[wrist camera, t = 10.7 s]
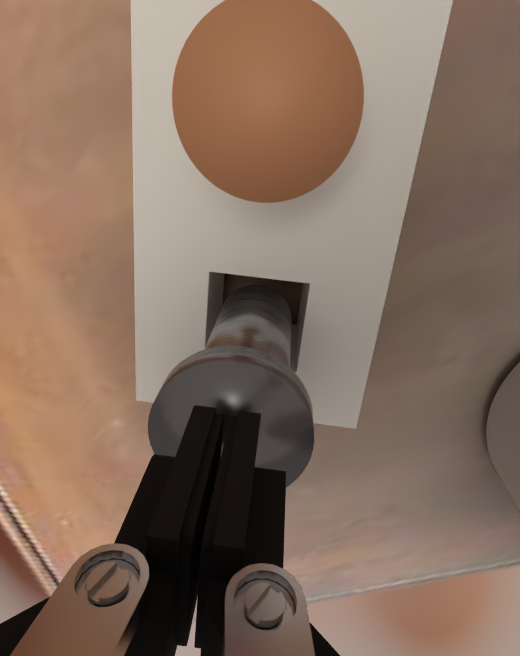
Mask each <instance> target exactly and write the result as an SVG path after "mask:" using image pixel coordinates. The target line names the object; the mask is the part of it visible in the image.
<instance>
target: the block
mask: <svg viewBox="0 0 520 656" xmlns="http://www.w3.org/2000/svg"><path fill="white" fill-rule="evenodd" d="M223 1H225V0H131V55H132V131H133V207H134V283H135V359H136V401H144V402H151V403H154V401H155V399H156V397H157V395H158V393H159V391H160V389H161V387H162V385H163V383H164V381H165V380H166V378H167V376H168V375H169V373H170V372H171V371H172V370H173V369H174V368H175V366H177V365H178V364H179V363H180V362H181V361H183V360H184V359H186V358H187V357H189V356H190V355H193V354H195V353H197V352H199V351H202V350H205V347H206V345H207V342H208V340H209V337H210V335H211V333H212V330H213V328H214V325H215V323H216V320H217V318H218V315H219V313H220V311H221V308H222V305H223V291H224V277H225V274H234V275H242V276H251V277H259V278H267V279H276V280H284V281H292V282H301V283H303V288H302V295H301V302H300V309H299V316H298V322H297V325H293V324H291V346H290V369H291V370H292V371H293V372H294V373H295V374H296V375H297V376H298V377H299V379H300V380H301V381H302V383H303V384H304V386H305V388H306V390H307V392H308V394H309V397H310V399H311V404H312V409H313V423H315V424H323V425H331V426H338V427H346V428H354V429H356V426H357V422H358V418H359V413H360V409H361V404H362V400H363V396H364V391H365V387H366V382H367V378H368V374H369V369H370V365H371V360H372V356H373V351H374V347H375V343H376V338H377V334H378V329H379V325H380V321H381V316H382V312H383V307H384V303H385V299H386V294H387V290H388V285H389V281H390V276H391V272H392V268H393V263H394V259H395V254H396V250H397V246H398V241H399V237H400V232H401V228H402V224H403V219H404V215H405V210H406V206H407V201H408V197H409V193H410V188H411V184H412V179H413V175H414V171H415V166H416V162H417V157H418V153H419V149H420V144H421V140H422V135H423V131H424V127H425V122H426V118H427V113H428V109H429V104H430V100H431V96H432V91H433V87H434V82H435V78H436V74H437V69H438V65H439V60H440V56H441V52H442V47H443V43H444V38H445V34H446V29H447V25H448V21H449V16H450V12H451V7H452V3H453V0H312V1H314V2H316V3H317V4H319V5H320V6H321V7H323V8H324V9H325V10H327V11H328V12H329V13H330V14H331V15H332V16H333V17H334V18H335V19H336V20H337V21H338V22H339V24H340V25H341V26H342V28H343V29H344V30H345V32H346V33H347V35H348V37H349V39H350V41H351V42H352V44H353V46H354V49H355V51H356V54H357V56H358V59H359V63H360V67H361V71H362V77H363V85H364V105H363V113H362V119H361V123H360V127H359V130H358V133H357V136H356V139H355V141H354V143H353V145H352V147H351V149H350V151H349V153H348V155H347V156H346V158H345V159H344V161H343V162H342V164H341V165H340V166H339V168H338V169H337V170H336V171H335V172H334V173H333V174H332V175H331V176H330V177H329V178H328V179H327V180H326V181H325V182H324V183H322V184H321V185H319V186H318V187H317V188H315V189H314V190H312V191H310V192H308V193H306V194H304V195H302V196H299V197H297V198H294V199H291V200H287V201H282V202H274V203H260V202H253V201H247V200H243V199H240V198H237V197H234V196H232V195H230V194H228V193H226V192H224V191H222V190H221V189H219V188H218V187H216V186H215V185H213V184H212V183H211V182H210V181H209V180H208V179H206V178H205V177H204V176H203V175H202V174H201V173H200V171H199V170H198V169H197V168H196V167H195V165H194V164H193V163H192V161H191V160H190V158H189V157H188V155H187V153H186V151H185V149H184V148H183V146H182V143H181V141H180V138H179V136H178V133H177V129H176V125H175V122H174V115H173V109H172V86H173V78H174V73H175V68H176V64H177V61H178V58H179V55H180V52H181V50H182V48H183V46H184V44H185V42H186V40H187V38H188V37H189V35H190V34H191V32H192V30H193V29H194V28H195V26H196V25H197V24H198V23H199V22H200V20H201V19H202V18H203V17H204V16H205V15H206V14H207V13H209V12H210V11H211V10H212V9H213V8H214V7H216V6H217V5H219V4H220V3H222V2H223Z"/></svg>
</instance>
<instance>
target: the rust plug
mask: <svg viewBox="0 0 520 656" xmlns="http://www.w3.org/2000/svg"><path fill="white" fill-rule="evenodd" d="M363 105H364V85H363V77H362V71H361V67H360V63H359V59H358V56H357V54H356V51H355V49H354V46H353V44H352V42H351V41H350V39H349V37H348V35H347V33H346V32H345V30H344V29H343V28H342V26H341V25H340V24H339V22H338V21H337V20H336V19H335V18H334V17H333V16H332V15H331V14H330V13H329V12H328V11H327V10H325V9H324V8H323V7H321V6H320V5H319V4H317V3H316V2H314V1H312V0H225V1H223V2H222V3H220V4H219V5H217V6H216V7H214V8H213V9H212V10H211V11H210V12H209V13H207V14H206V15H205V16H204V17H203V18H202V19H201V20H200V22H199V23H198V24H197V25H196V26H195V28H194V29H193V30H192V32H191V34H190V35H189V37H188V38H187V40H186V42H185V44H184V46H183V48H182V50H181V52H180V55H179V58H178V61H177V64H176V68H175V73H174V78H173V86H172V109H173V115H174V122H175V125H176V129H177V133H178V136H179V138H180V141H181V143H182V146H183V148H184V149H185V151H186V153H187V155H188V157H189V158H190V160H191V161H192V163H193V164H194V165H195V167H196V168H197V169H198V170H199V171H200V173H201V174H202V175H203V176H204V177H205V178H206V179H208V180H209V181H210V182H211V183H212V184H213V185H215V186H216V187H218V188H219V189H221V190H222V191H224V192H226V193H228V194H230V195H232V196H234V197H237V198H240V199H243V200H247V201H253V202H260V203H274V202H282V201H287V200H291V199H294V198H297V197H299V196H302V195H304V194H306V193H308V192H310V191H312V190H314V189H315V188H317V187H318V186H319V185H321V184H322V183H324V182H325V181H326V180H327V179H328V178H329V177H330V176H331V175H332V174H333V173H334V172H335V171H336V170H337V169H338V168H339V166H340V165H341V164H342V162H343V161H344V159H345V158H346V156H347V155H348V153H349V151H350V149H351V147H352V145H353V143H354V141H355V139H356V136H357V133H358V130H359V127H360V123H361V119H362V113H363Z"/></svg>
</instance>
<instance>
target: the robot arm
mask: <svg viewBox="0 0 520 656" xmlns="http://www.w3.org/2000/svg"><path fill="white" fill-rule="evenodd" d="M216 412H217V411H216V408H214V407H206V406H199V405H194V407H193V409H192V412H191V415H190V418H189V420H188V423H187V426H186V429H185V431H184V434H183V437H182V439H181V442H180V445H179V448H178V450H177V453H176V456H175V457H172V456H165V455H157V454H154V455H153V456H152V458H151V460H150V462H149V464H148V467H147V469H146V471H145V474H144V476H143V478H142V481H141V483H140V485H139V487H138V490H137V492H136V494H135V497H134V499H133V501H132V504H131V506H130V508H129V511H128V513H127V515H126V517H125V520H124V522H123V524H122V527H121V529H120V531H119V534H118V536H117V538H116V540H115V543H114V544H106V545H102V546H99V547H96V548H94V549H91V550H90V551H88V552H87V553H85V554H84V555H82V556H81V557H80V558H79V559H78V560H77V561H76V562H75V563H74V564H73V565H72V567H71V568H70V569H69V571H68V572H67V574H66V575H65V577H64V578H63V580H62V581H61V582H60V584H59V585H58V587H57V588H56V590H55V591H54V593H53V594H52V595H51V597H49V598H47V599H45V600H43V601H41V602H40V603H38V604H36V605H34V606H32V607H30V608H29V609H27V610H25V611H23V612H21V613H19V614H18V615H16V616H14V617H12V618H10V619H8V620H7V621H5V622H3V623H1V624H0V656H175V652H176V648H177V645H180V646H186V645H187V643H188V638H189V633H190V629H191V624H192V619H193V615H194V610H195V605H196V600H197V596H198V601H197V616H196V632H195V648H201V656H340V655H339V654H338V653H337V652H336V651H335V650H334V648H333V647H332V646H331V645H330V644H329V643H328V642H327V641H326V640H325V639H324V638H323V636H322V635H321V634H320V633H319V632H318V631H317V630H316V629H315V628H314V626H313V625H312V624H311V623H310V622H309V617H308V611H307V605H306V600H305V596H304V593H303V590H302V587H301V586H300V584H299V583H298V581H297V580H296V579H295V577H294V576H292V575H291V574H290V573H289V572H287V571H286V570H285V569H283V554H284V523H285V493H286V471H280V470H272V469H265V468H257V467H255V460H256V452H257V444H258V436H259V427H260V419H261V413H254V412H246V411H240V412H239V416H230V419H229V424H228V428H227V432H226V437H225V441H224V446H223V450H222V454H221V448H222V435H223V423H224V415H223V414H216Z"/></svg>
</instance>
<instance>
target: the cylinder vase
mask: <svg viewBox="0 0 520 656" xmlns="http://www.w3.org/2000/svg"><path fill="white" fill-rule="evenodd" d="M486 440H487V447H488V452H489V455H490V458H491V461H492V463H493V466H494V468H495V469H496V471H497V473H498V475H499V477H500V478H501V480H502V482H503V484H504V486H505V487H506V489H507V491H508V493H509V494H510V496H511V498H512V500H513V502H514V503H515V505H516V507H517V509H518V510H519V512H520V362H519V363H518V364H517V365H516V366H515V367H514V368H513V369H512V371H511V372H510V373H509V374H508V376H507V377H506V378H505V380H504V381H503V383H502V384H501V386H500V387H499V389H498V391H497V393H496V395H495V397H494V399H493V402H492V404H491V407H490V410H489V414H488V419H487V427H486Z"/></svg>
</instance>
